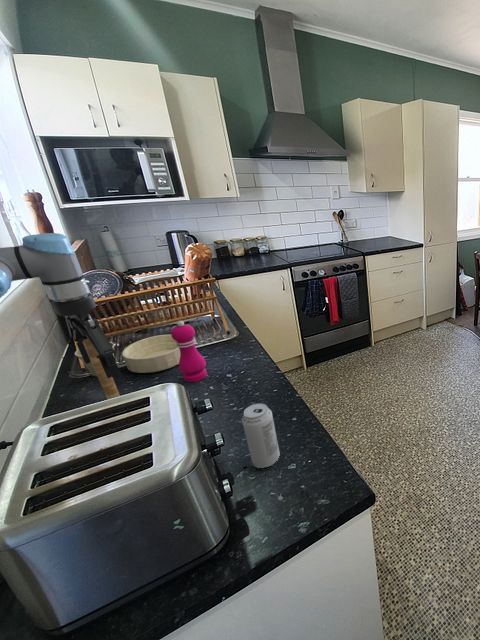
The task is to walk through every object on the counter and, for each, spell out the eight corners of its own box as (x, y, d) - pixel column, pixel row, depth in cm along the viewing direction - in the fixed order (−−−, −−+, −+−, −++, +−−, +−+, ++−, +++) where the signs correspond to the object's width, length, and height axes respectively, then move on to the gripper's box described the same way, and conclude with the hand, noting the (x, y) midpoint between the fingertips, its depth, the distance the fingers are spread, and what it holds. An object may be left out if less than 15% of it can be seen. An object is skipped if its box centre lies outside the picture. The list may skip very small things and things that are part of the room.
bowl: (144, 380, 109) (138, 364, 107) (118, 365, 117) (112, 349, 115) (200, 357, 123) (195, 342, 121) (173, 344, 131) (169, 330, 129)
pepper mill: (213, 371, 115) (199, 317, 107) (198, 384, 109) (182, 326, 100) (193, 370, 116) (177, 315, 108) (177, 382, 109) (158, 325, 101)
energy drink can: (261, 450, 85) (250, 400, 79) (285, 452, 84) (275, 402, 78) (247, 469, 79) (234, 418, 73) (272, 472, 79) (261, 420, 73)
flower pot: (113, 377, 110) (104, 354, 107) (78, 381, 108) (67, 357, 105) (128, 362, 119) (120, 340, 115) (95, 365, 116) (85, 343, 113)
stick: (111, 405, 98) (84, 343, 90) (106, 401, 100) (80, 340, 91) (123, 399, 101) (98, 339, 92) (118, 396, 102) (93, 336, 94)
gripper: (112, 302, 84) (140, 374, 93) (70, 283, 95) (99, 350, 104) (72, 312, 78) (106, 389, 87) (32, 291, 89) (66, 361, 98)
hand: (102, 368), depth 96 cm, fingers open, 13 cm apart
